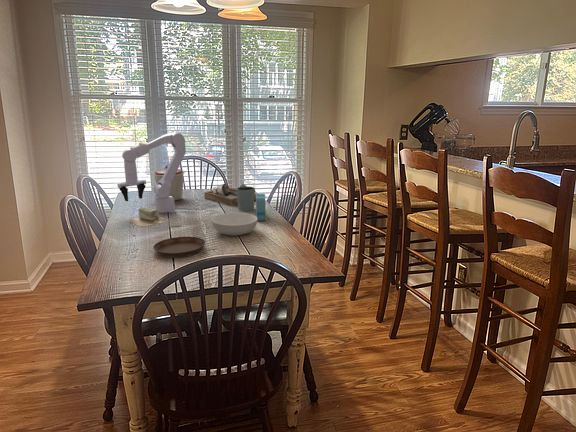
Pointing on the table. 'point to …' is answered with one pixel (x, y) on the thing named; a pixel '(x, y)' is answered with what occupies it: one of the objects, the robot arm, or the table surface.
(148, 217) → the block
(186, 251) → the plant saucer
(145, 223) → the board
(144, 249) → the table surface
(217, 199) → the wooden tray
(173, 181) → the canister
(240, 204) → the green lidded jar
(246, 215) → the serving bowl
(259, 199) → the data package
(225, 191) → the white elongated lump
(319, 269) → the table surface
